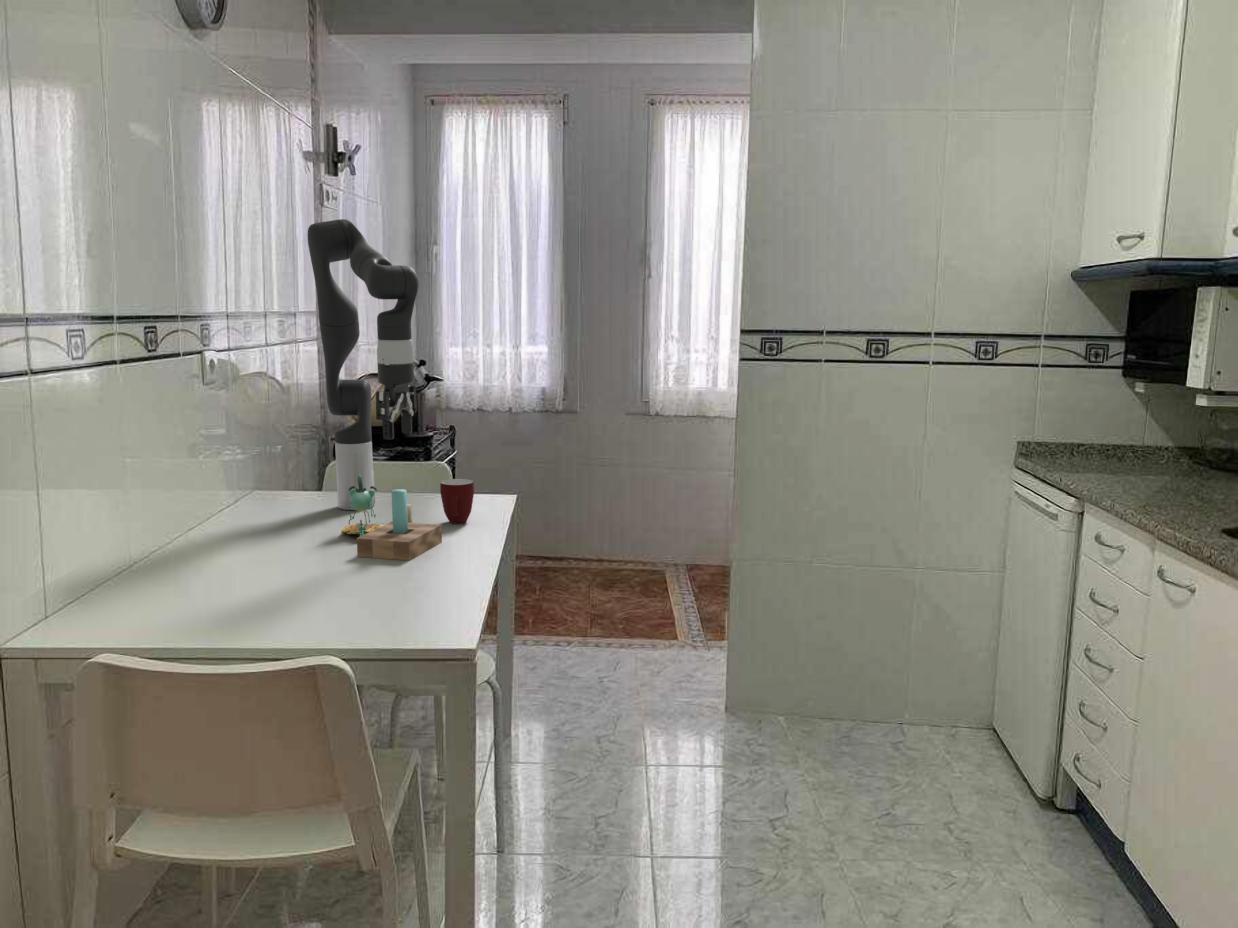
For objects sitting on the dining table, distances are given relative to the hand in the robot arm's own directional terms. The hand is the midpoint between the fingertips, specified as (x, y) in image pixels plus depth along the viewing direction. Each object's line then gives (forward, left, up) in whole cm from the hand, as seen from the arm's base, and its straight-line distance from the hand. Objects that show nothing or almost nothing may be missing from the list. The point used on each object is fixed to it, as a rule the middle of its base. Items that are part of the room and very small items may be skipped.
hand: (398, 436), depth 209 cm
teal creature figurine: (-8, -14, -25) cm, 30 cm away
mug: (-24, +3, -25) cm, 35 cm away
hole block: (+2, +1, -25) cm, 25 cm away
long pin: (+2, +1, -25) cm, 25 cm away
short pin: (-10, -4, -25) cm, 27 cm away
